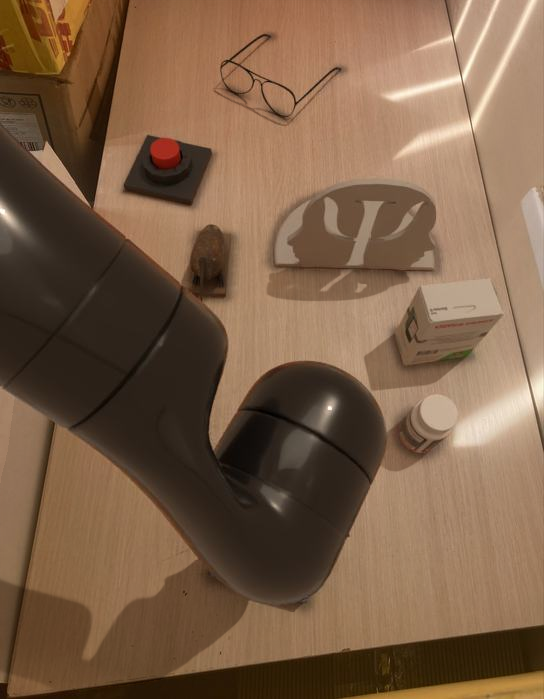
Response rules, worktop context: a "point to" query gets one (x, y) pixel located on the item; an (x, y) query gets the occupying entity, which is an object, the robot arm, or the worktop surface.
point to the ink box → (447, 320)
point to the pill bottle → (428, 423)
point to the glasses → (268, 79)
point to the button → (165, 153)
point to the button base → (169, 173)
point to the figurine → (210, 262)
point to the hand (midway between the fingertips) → (271, 542)
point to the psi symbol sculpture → (360, 228)
